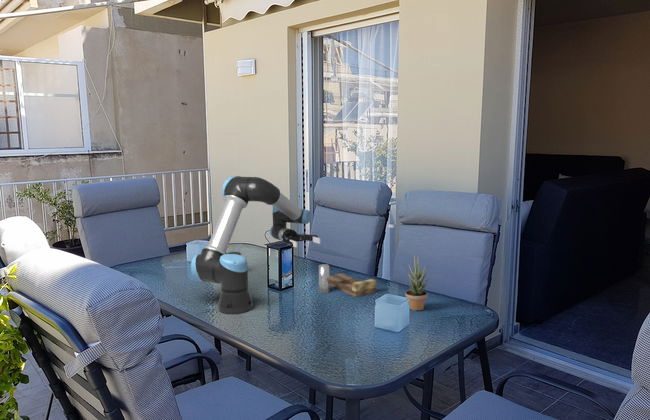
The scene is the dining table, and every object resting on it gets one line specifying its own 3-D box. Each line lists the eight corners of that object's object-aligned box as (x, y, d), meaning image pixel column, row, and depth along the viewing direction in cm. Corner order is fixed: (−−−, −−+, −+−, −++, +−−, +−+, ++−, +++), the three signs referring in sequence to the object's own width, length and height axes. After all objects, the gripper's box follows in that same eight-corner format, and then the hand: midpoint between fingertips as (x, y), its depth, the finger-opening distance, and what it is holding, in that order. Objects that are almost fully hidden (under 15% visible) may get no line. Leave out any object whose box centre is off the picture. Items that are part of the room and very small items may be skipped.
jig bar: (355, 296, 242) (355, 284, 242) (321, 281, 268) (321, 270, 267) (376, 292, 249) (376, 280, 248) (341, 277, 274) (341, 266, 273)
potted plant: (413, 303, 232) (414, 249, 228) (431, 308, 225) (432, 253, 222) (400, 309, 225) (400, 253, 222) (418, 314, 219) (419, 257, 215)
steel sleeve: (322, 293, 247) (322, 267, 245) (317, 291, 252) (316, 265, 250) (331, 292, 250) (331, 265, 248) (325, 289, 254) (325, 263, 252)
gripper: (308, 239, 285) (329, 246, 267) (267, 245, 271) (286, 253, 254) (308, 226, 283) (329, 232, 266) (266, 231, 270) (286, 238, 253)
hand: (308, 243), depth 260 cm, fingers open, 13 cm apart
